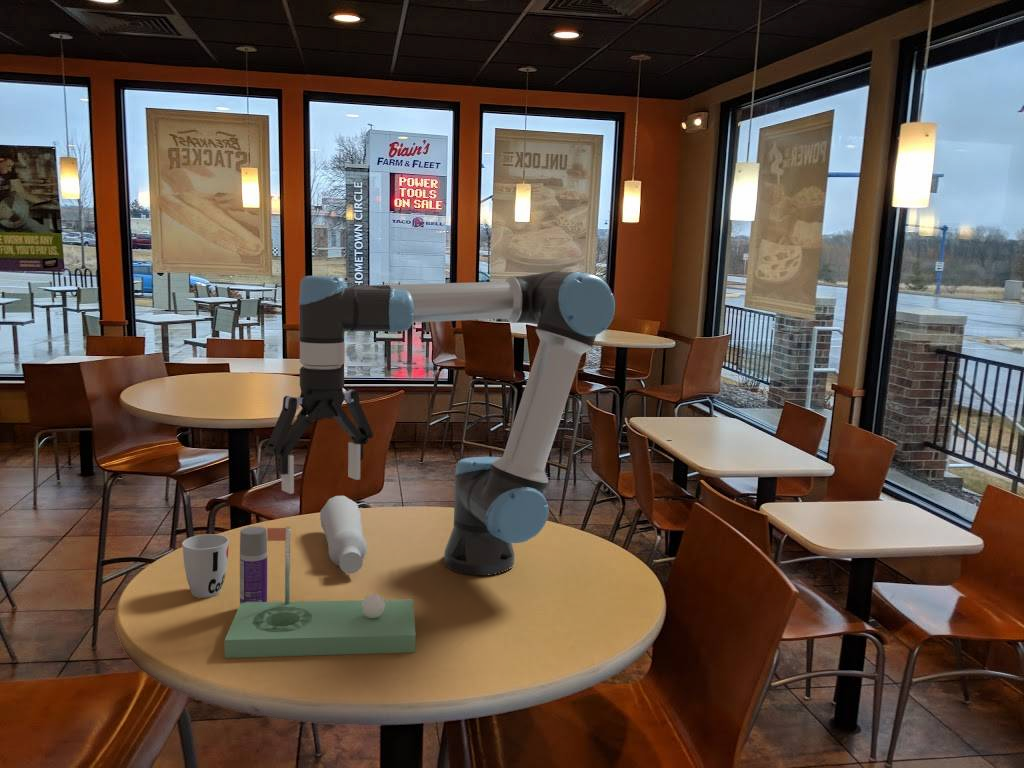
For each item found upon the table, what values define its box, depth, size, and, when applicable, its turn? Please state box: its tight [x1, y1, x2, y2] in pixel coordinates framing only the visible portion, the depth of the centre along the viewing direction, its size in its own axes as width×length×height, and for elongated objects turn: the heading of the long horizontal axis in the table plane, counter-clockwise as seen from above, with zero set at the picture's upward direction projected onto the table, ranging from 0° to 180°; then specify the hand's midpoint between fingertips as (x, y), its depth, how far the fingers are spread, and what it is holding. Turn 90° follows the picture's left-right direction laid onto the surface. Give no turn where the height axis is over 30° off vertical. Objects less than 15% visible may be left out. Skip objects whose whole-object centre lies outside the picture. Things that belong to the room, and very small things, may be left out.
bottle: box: [319, 495, 368, 574], centre depth 172 cm, size 9×9×30 cm
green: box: [224, 598, 417, 659], centre depth 134 cm, size 30×14×3 cm, turn 99°
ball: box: [362, 593, 385, 618], centre depth 135 cm, size 4×4×4 cm
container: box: [239, 525, 268, 604], centre depth 141 cm, size 5×5×15 cm
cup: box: [181, 533, 230, 599], centre depth 148 cm, size 8×8×10 cm
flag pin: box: [266, 525, 291, 605], centre depth 138 cm, size 4×1×14 cm, turn 99°
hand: (322, 484), depth 140 cm, fingers open, 13 cm apart
